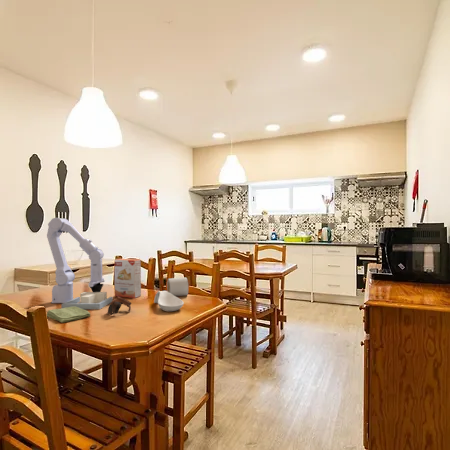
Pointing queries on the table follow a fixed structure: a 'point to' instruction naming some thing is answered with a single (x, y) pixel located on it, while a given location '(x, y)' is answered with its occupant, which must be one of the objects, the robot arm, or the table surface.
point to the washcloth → (68, 314)
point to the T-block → (93, 297)
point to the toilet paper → (177, 286)
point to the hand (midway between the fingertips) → (96, 298)
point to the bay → (86, 304)
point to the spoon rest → (168, 301)
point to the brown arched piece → (118, 305)
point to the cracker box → (128, 278)
